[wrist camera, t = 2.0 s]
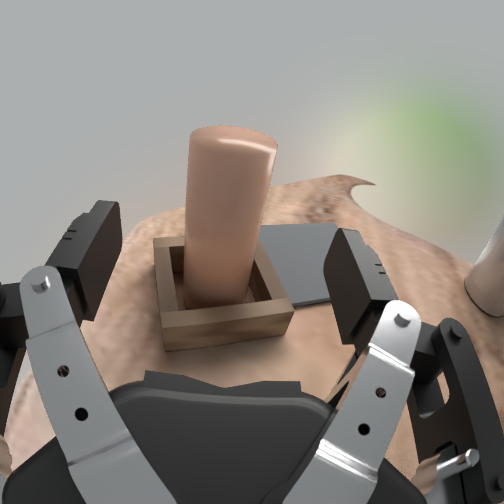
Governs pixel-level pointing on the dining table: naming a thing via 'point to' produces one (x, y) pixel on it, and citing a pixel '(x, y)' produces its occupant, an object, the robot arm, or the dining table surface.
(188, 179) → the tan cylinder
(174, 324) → the walnut collar
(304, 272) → the charcoal mat
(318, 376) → the dining table surface
